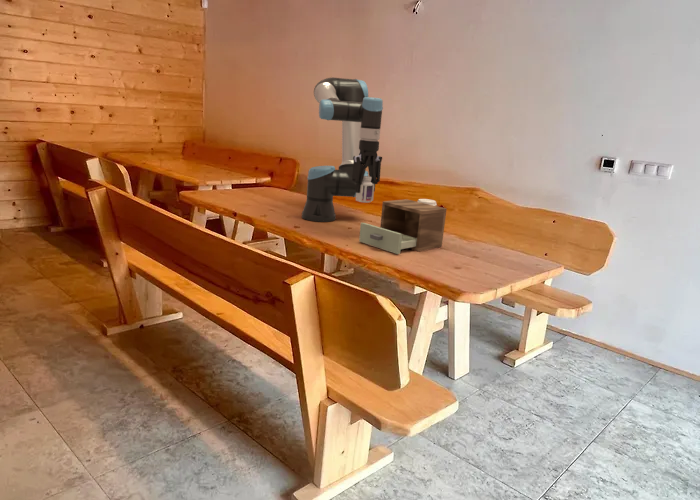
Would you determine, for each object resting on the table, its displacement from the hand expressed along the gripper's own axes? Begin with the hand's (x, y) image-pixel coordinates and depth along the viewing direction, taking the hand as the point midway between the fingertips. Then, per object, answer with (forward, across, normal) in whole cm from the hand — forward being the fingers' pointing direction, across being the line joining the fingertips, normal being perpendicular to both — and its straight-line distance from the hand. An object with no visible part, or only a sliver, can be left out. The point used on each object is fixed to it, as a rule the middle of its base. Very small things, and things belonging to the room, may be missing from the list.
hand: (364, 200), depth 203 cm
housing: (+15, +11, -16) cm, 24 cm away
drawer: (+14, -2, -16) cm, 21 cm away
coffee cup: (+15, +25, -11) cm, 31 cm away
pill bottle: (+1, 0, 0) cm, 1 cm away
